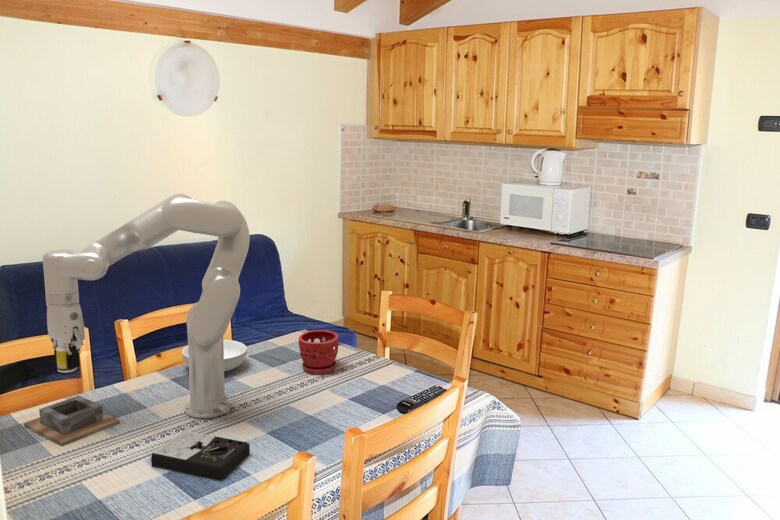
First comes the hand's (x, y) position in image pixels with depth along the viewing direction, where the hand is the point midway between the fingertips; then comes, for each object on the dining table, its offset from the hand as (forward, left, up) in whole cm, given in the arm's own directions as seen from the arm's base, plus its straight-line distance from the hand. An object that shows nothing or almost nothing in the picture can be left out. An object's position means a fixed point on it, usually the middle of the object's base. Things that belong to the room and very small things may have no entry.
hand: (67, 364), depth 167 cm
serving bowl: (+2, -51, -17) cm, 54 cm away
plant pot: (-26, -71, -17) cm, 78 cm away
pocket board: (0, 0, -17) cm, 17 cm away
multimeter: (-42, -8, -18) cm, 46 cm away
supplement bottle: (0, 0, -2) cm, 2 cm away
